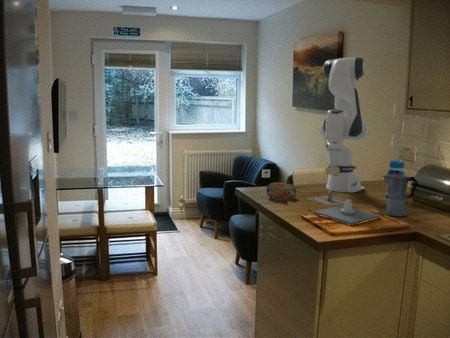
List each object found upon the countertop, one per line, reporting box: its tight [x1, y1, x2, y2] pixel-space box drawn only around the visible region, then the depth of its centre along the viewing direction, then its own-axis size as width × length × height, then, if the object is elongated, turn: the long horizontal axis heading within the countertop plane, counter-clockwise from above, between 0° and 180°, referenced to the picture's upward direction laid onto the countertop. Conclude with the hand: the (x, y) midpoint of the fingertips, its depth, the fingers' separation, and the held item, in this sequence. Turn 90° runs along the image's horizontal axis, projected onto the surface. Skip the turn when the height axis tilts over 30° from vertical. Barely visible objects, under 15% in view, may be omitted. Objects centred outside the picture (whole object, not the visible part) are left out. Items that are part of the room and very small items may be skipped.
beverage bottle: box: [384, 160, 406, 201], centre depth 223 cm, size 8×8×20 cm
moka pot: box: [382, 170, 419, 217], centre depth 195 cm, size 10×15×20 cm, turn 51°
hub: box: [313, 198, 382, 226], centre depth 191 cm, size 20×20×8 cm
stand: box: [307, 190, 354, 207], centre depth 214 cm, size 16×16×6 cm
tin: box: [266, 182, 297, 202], centre depth 219 cm, size 15×3×8 cm, turn 62°
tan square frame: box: [323, 165, 340, 176], centre depth 212 cm, size 7×7×3 cm
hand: (331, 172), depth 212 cm, fingers closed on tan square frame, 7 cm apart
